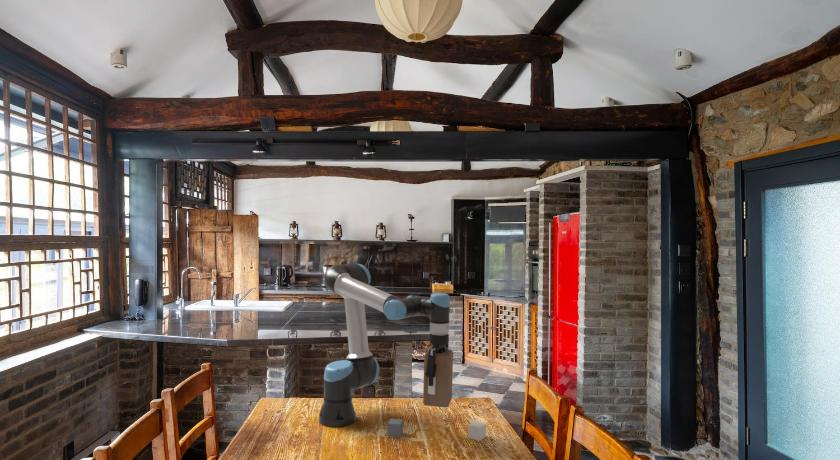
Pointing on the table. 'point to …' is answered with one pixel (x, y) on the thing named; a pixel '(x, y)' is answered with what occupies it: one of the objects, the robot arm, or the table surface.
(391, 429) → the slate cube
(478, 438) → the white cube
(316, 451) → the table surface
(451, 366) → the block
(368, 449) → the table surface
